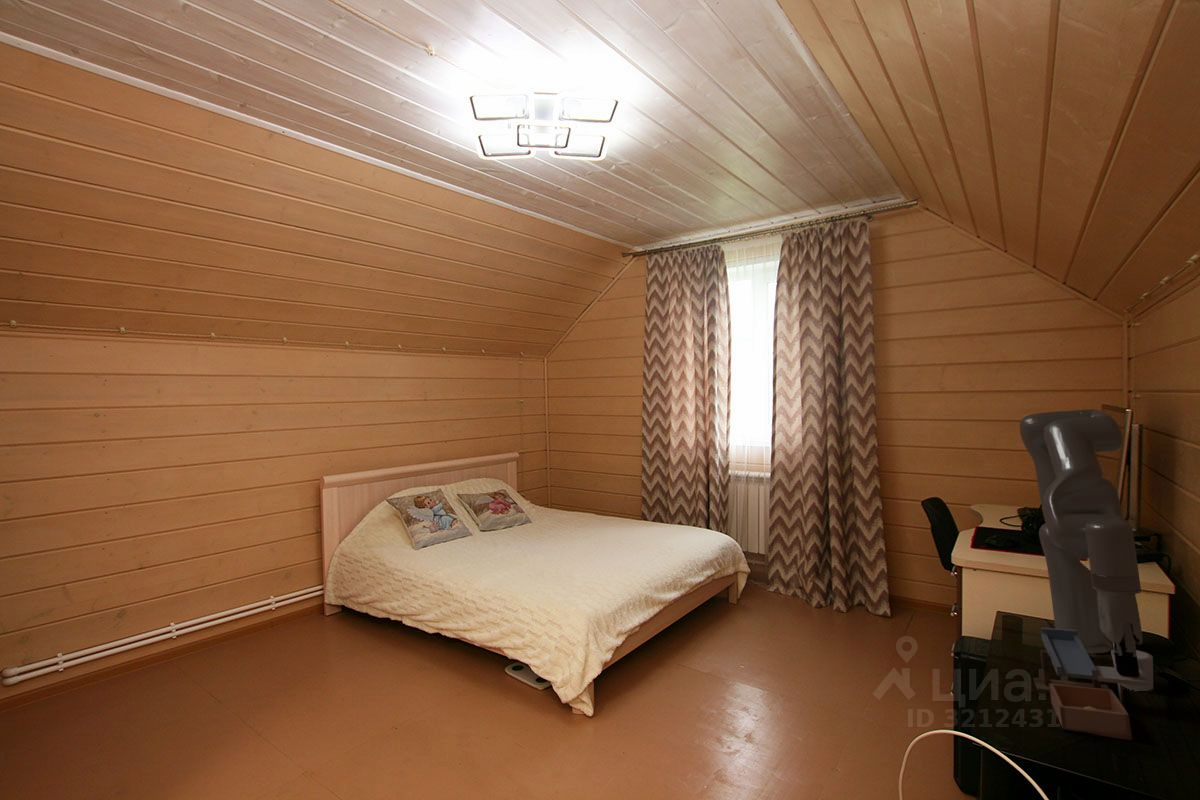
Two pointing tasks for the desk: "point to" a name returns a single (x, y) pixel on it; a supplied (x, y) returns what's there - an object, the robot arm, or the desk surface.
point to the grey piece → (1080, 659)
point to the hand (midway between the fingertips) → (1128, 674)
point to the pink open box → (1090, 711)
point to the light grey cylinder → (1143, 664)
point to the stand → (1043, 684)
